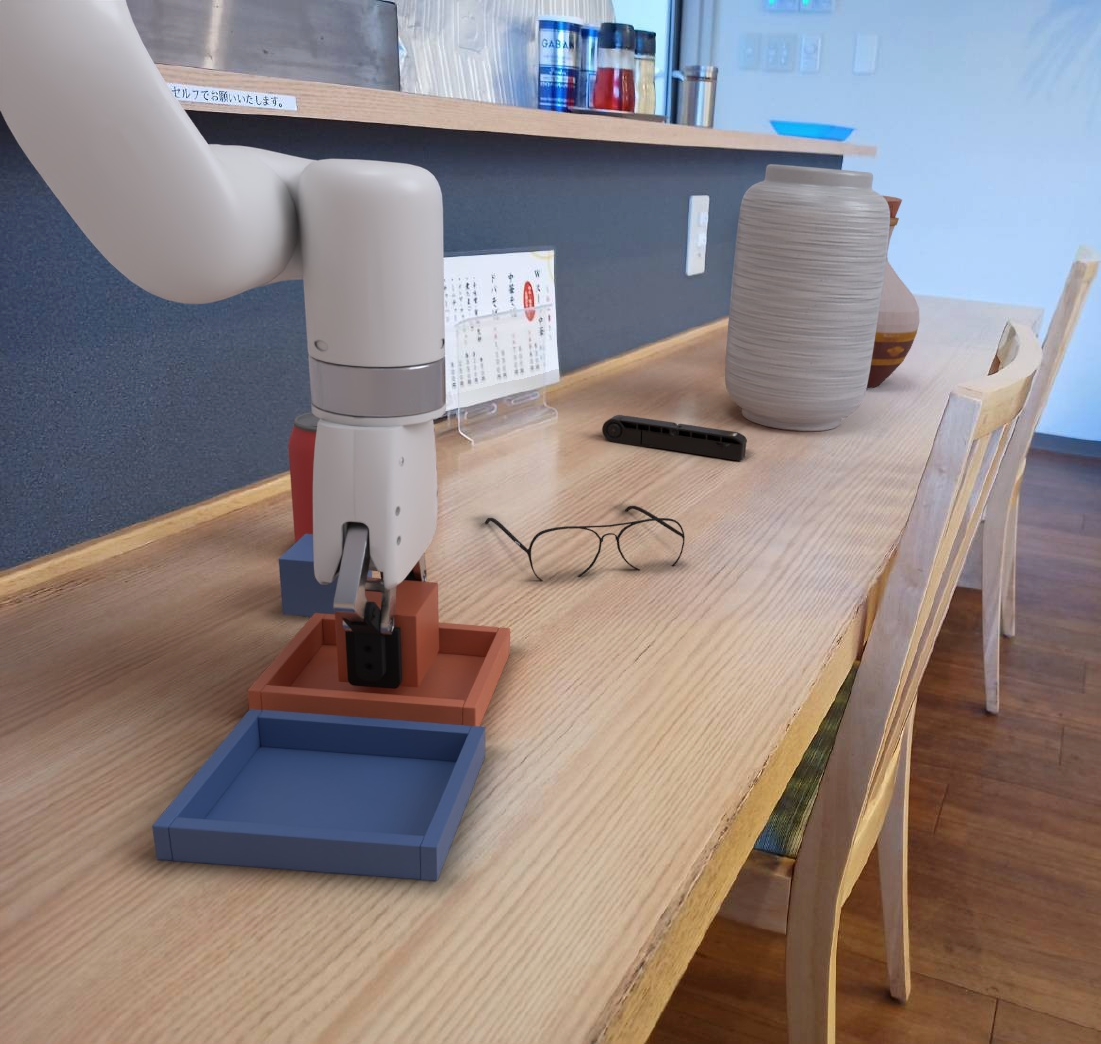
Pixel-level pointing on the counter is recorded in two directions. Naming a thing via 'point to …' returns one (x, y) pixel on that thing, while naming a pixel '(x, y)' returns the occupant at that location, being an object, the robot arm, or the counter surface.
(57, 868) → the counter surface
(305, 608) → the blue block
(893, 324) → the jug
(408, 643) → the terracotta block
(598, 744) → the counter surface
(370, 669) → the robot arm
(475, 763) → the blue tray
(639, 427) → the tablet stand
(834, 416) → the vase
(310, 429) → the beer can
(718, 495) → the counter surface
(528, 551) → the glasses
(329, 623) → the terracotta tray
